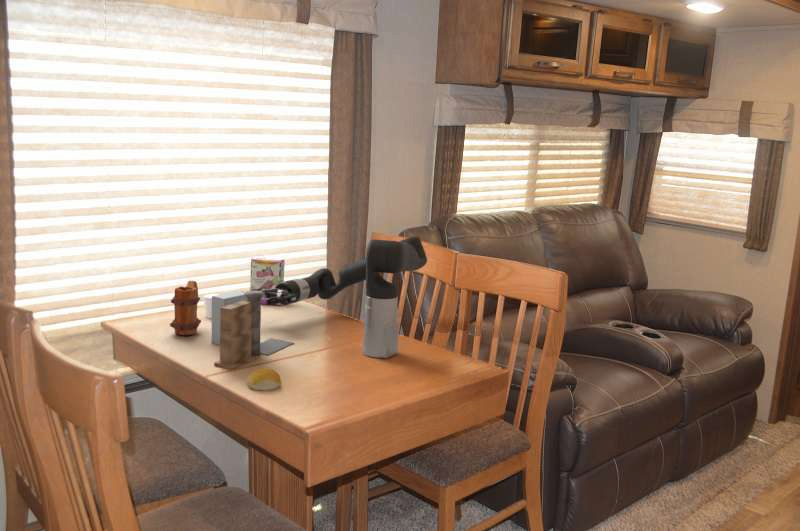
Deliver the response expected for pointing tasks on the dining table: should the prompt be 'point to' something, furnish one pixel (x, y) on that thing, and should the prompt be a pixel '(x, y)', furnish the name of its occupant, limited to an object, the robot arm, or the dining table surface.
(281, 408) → the dining table surface
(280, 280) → the candy bar box
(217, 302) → the light grey block
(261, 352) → the seat pad
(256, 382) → the bread roll
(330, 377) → the dining table surface
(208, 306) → the beige cup
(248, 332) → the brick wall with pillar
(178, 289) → the mug
